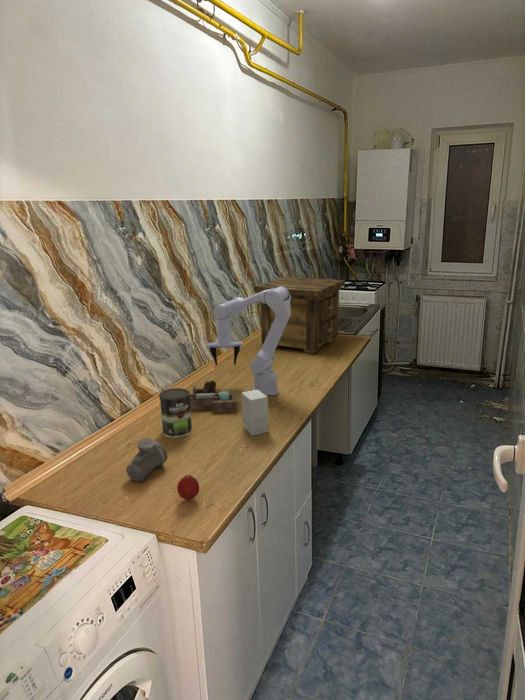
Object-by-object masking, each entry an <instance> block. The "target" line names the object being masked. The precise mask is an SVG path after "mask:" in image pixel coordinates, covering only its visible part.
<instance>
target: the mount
mask: <svg viewBox="0 0 525 700" xmlns="http://www.w3.org/2000/svg"><path fill="white" fill-rule="evenodd" d="M214 393H215V396H213V398H203V399H196V400H194V399H193V393H190V409H191V411H193V410H194V411H195V410H212V413H215V414H216V413H217V414H218V413H236V412H238V393H237V392H229V400H221V401H220V397H219V392H214Z"/></svg>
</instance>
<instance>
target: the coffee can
mask: <svg viewBox="0 0 525 700" xmlns="http://www.w3.org/2000/svg"><path fill="white" fill-rule="evenodd" d="M190 394H191V392H190V390H188V389H186V388H181V387H176V388H175V387H174V388H169V389H164V390H162V391H160V392H159V393H158V398H159V404H160V405H159V407H160V419H161V431H162V433H161V434H162V435H163V436H164V437H166V438H171V439H177V438H179V439H180V438H184V437H187V436H189V435H190V434H191V433H192V432H193V426H192V413H191V411H192V410H191V409H190Z"/></svg>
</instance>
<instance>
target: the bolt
mask: <svg viewBox="0 0 525 700" xmlns="http://www.w3.org/2000/svg"><path fill="white" fill-rule="evenodd" d="M216 386H217V383H216V382H215V380H210V381H205V383H204V384H203V387H202V388H196V392H197V394H207V393H214V391H215V389H216Z"/></svg>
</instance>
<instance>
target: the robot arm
mask: <svg viewBox="0 0 525 700" xmlns="http://www.w3.org/2000/svg"><path fill="white" fill-rule="evenodd" d="M290 299H291V296H290V294H289V292H288V290H287V289H286V288H285V287H282V286H280V287H277V288H276V289H275V288H272V289H268V290H264V291H262V292H259V293H254V294H252V295H250V296H248V297H245V298H244V297H240V296H234V297H233V298H232V299H231V300H229V301H228V300H225V301H223V303H222V304H221V303H220V304H218V305H216V306H215V307H214V308H213V312H212V313H213V316H214V318H216V334H217V335H216V336H217V337H216V338H217V341H214V342H207V344H206V348H207V349H206V350H209V352H210V354H211V356H212V358H213V361H214V364H215V366H218V358H217V349H224V348H225V349H227V348H233V366H235V365H236V364H237V359H238V356H239V353H240V351H241V348H243V341H232V324H231V323H232V319H231V318H232V316H233V315H236V314H239V313H242V312H245V310H247V307H248V306H249V307H250V306H252V305H254V304H258V303H261V302H262V303H264V304H265V303H267V305H268V306H269V307H270V308H271V309H272V310H273V312H274V313H275V315H276V317H275V319H274V321H273V323H272V326H271V328H270V330H269V333H268V335H267V337H266V339H265V342H264V344H263V345H262V346H261V348H260V351H259V352H258V353H257V354H256V356H255V357H254V359H252V360H251V361H250V363H249V364H250V366H249V367H250V369H251V371H252V372H253V387H252V390H259V391H260V392H262V393H263V394H264V395H266V396H278V381H277V380H278V379H277V378H278V377H277V371H276V370H272V366H274V361H275V360H274V359H275V356H276V354H275V351H276V349H277V348H278V347H277V344H278V342H279V340H280V338H281V336H282V333H283V331H284V329H285V327H286V324H287V322H288V320H289V318H290V315H291V309H290ZM276 347H277V348H276Z"/></svg>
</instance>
